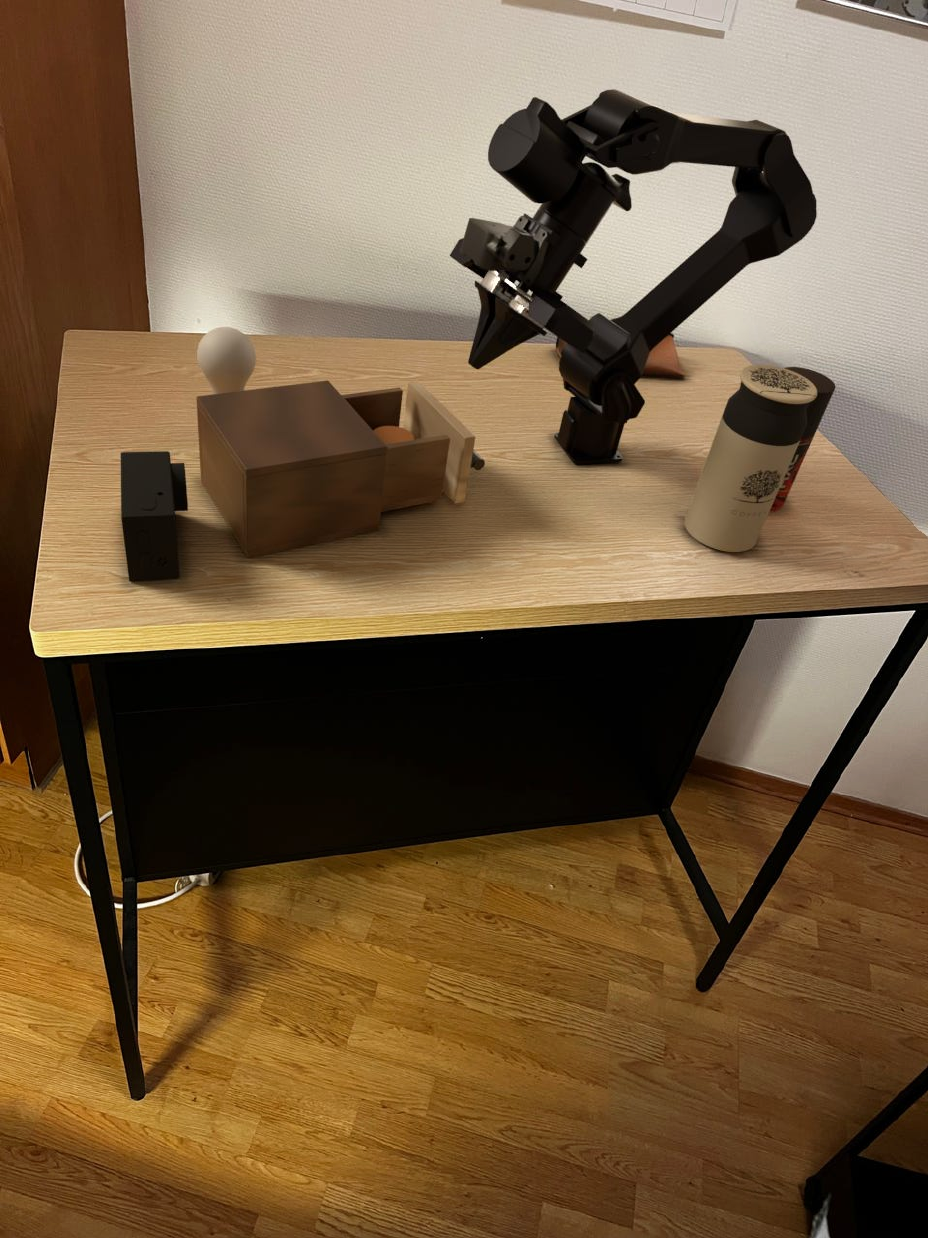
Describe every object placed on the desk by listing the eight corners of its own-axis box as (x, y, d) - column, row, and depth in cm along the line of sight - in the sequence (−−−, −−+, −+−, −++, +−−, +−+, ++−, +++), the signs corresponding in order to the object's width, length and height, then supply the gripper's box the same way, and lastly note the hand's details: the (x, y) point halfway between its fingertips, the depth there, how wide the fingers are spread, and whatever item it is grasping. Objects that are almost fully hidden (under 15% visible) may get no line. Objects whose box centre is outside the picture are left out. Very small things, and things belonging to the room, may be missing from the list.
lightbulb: (189, 425, 100) (183, 330, 92) (221, 404, 104) (217, 312, 97) (237, 442, 98) (234, 347, 91) (267, 420, 103) (267, 328, 96)
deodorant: (756, 515, 102) (807, 395, 93) (723, 487, 106) (768, 369, 96) (793, 507, 105) (847, 389, 95) (760, 480, 109) (808, 364, 99)
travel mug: (678, 507, 101) (731, 357, 90) (747, 517, 102) (808, 369, 90) (689, 549, 95) (747, 393, 84) (762, 559, 96) (830, 406, 84)
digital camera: (194, 578, 80) (189, 514, 76) (129, 582, 79) (121, 516, 74) (187, 512, 88) (182, 449, 83) (127, 514, 86) (120, 450, 81)
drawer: (441, 437, 104) (450, 375, 99) (497, 495, 96) (510, 430, 91) (306, 460, 96) (309, 393, 91) (356, 524, 88) (361, 455, 83)
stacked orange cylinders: (407, 456, 97) (411, 422, 95) (420, 484, 94) (425, 448, 91) (358, 458, 96) (361, 423, 93) (370, 486, 92) (373, 451, 89)
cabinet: (324, 461, 98) (328, 379, 92) (379, 530, 90) (387, 446, 84) (200, 481, 92) (196, 396, 86) (247, 558, 83) (246, 469, 77)
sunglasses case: (571, 372, 123) (573, 321, 122) (553, 375, 130) (555, 327, 128) (690, 377, 127) (693, 328, 126) (667, 380, 134) (670, 334, 133)
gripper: (457, 151, 86) (373, 295, 91) (568, 218, 75) (465, 379, 80) (529, 209, 94) (448, 339, 99) (639, 278, 83) (541, 420, 88)
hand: (472, 366), depth 92 cm, fingers closed
